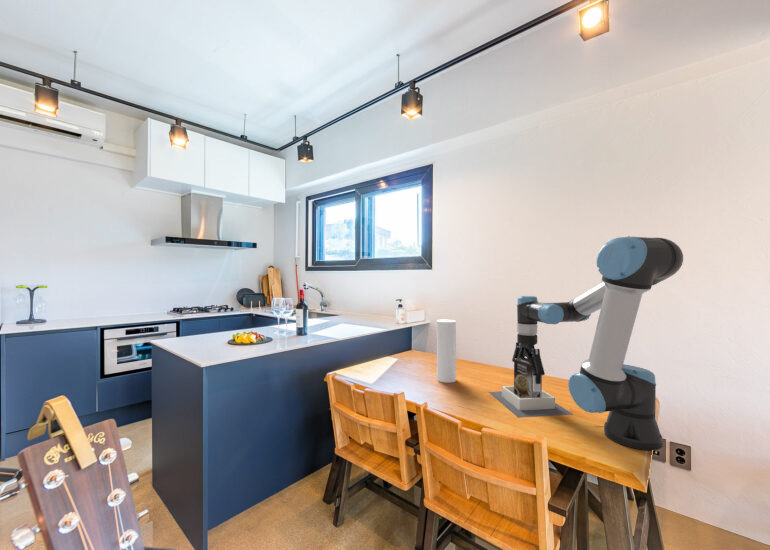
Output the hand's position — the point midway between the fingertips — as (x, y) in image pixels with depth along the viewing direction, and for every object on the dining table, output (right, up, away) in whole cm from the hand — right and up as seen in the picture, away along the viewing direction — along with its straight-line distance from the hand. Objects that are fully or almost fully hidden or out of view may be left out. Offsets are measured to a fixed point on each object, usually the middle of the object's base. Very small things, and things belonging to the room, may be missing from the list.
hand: (527, 385), depth 135 cm
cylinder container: (-28, -7, +30) cm, 41 cm away
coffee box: (0, -6, 0) cm, 6 cm away
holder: (0, -7, 0) cm, 7 cm away
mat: (0, -7, 0) cm, 7 cm away
